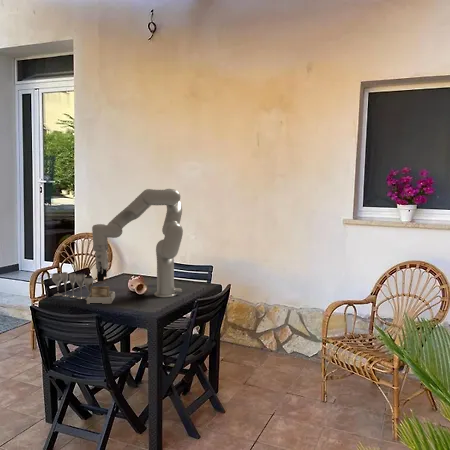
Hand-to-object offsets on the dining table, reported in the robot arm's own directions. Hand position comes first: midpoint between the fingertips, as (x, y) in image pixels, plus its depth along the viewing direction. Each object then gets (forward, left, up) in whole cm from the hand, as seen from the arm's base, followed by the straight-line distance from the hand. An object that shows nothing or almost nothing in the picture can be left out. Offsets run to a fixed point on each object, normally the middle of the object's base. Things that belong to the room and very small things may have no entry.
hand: (102, 279), depth 245 cm
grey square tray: (+1, 0, -12) cm, 12 cm away
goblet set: (+17, -7, -12) cm, 22 cm away
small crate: (+1, 0, -11) cm, 11 cm away
